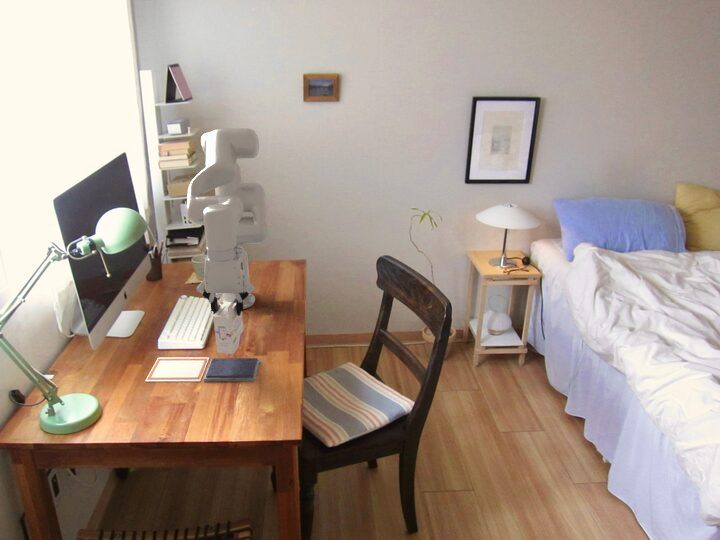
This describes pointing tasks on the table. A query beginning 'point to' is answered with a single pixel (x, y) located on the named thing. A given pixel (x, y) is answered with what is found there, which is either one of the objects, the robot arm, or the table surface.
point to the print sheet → (178, 369)
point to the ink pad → (232, 369)
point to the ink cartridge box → (228, 328)
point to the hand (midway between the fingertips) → (227, 312)
